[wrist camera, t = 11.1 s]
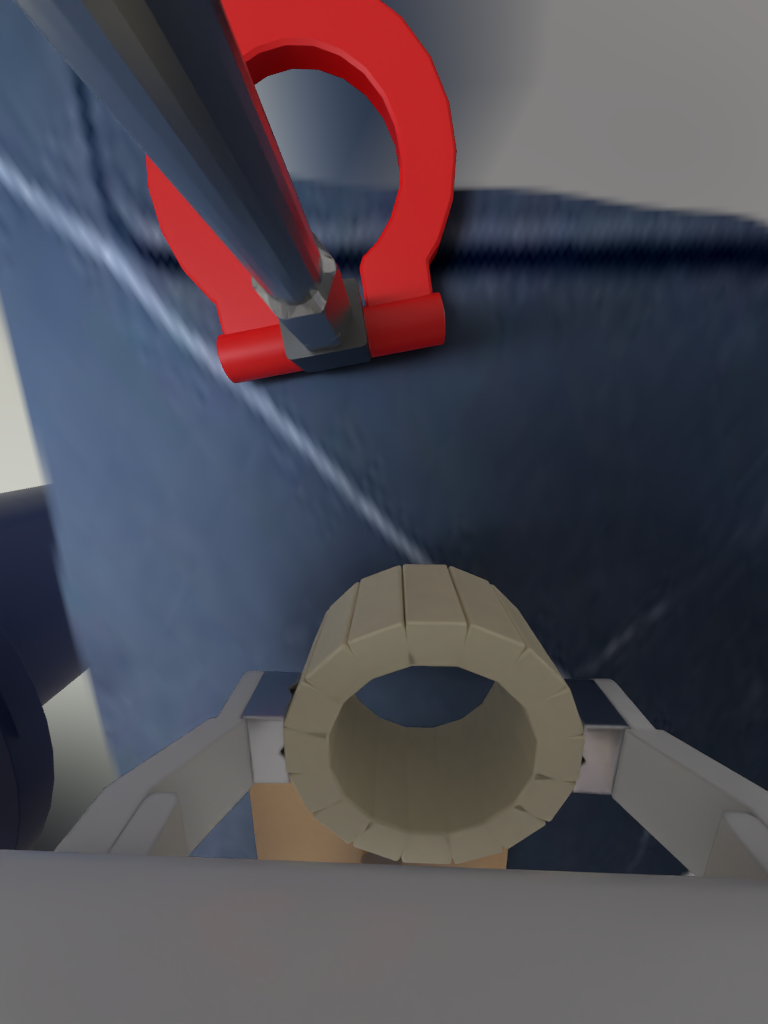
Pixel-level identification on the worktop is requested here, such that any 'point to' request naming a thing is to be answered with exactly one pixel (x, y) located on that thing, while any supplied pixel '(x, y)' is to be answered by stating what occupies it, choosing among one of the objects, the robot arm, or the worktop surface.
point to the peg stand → (317, 833)
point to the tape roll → (443, 749)
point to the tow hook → (271, 165)
